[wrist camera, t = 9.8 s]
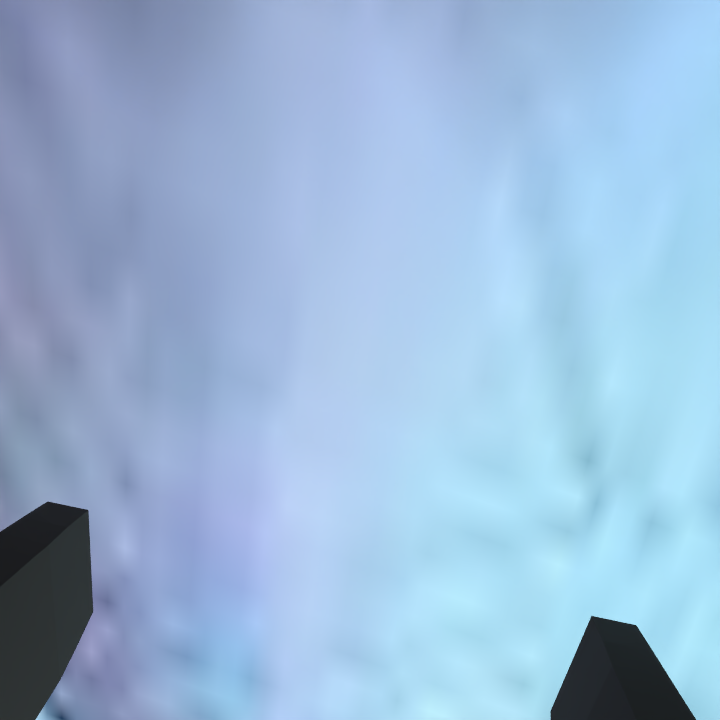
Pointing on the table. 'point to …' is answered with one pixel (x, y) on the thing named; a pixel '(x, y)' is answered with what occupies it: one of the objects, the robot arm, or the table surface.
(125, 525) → the table surface
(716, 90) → the table surface
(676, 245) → the table surface
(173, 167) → the table surface
